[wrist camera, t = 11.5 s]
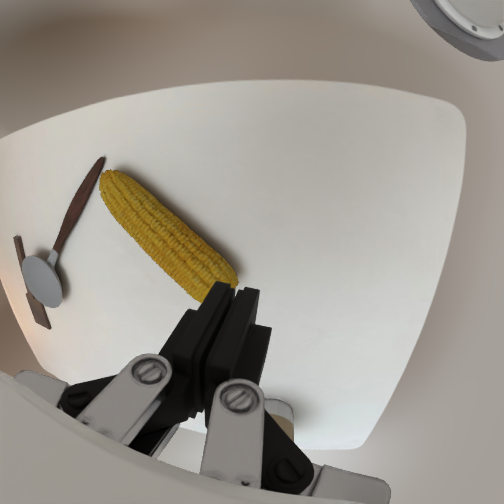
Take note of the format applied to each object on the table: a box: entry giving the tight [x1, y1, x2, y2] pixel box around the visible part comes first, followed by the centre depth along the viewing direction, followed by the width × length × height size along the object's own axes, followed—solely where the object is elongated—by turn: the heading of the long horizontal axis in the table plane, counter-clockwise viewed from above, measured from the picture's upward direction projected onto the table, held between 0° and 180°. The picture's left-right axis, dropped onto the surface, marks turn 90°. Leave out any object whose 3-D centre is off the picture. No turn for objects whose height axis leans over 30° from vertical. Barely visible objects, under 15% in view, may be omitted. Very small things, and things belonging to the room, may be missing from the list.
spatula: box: [13, 236, 51, 330], centre depth 46 cm, size 22×6×1 cm, turn 175°
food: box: [99, 169, 239, 303], centre depth 32 cm, size 21×6×6 cm, turn 50°
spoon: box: [22, 157, 104, 308], centre depth 38 cm, size 11×33×3 cm, turn 136°
